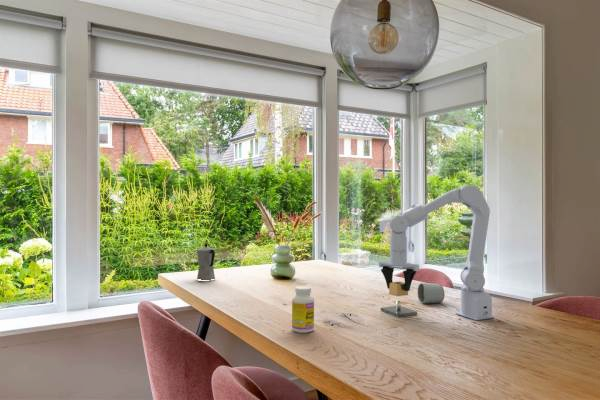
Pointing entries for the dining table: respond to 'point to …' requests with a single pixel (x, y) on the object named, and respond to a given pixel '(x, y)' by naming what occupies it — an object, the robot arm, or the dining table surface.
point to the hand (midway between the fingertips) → (398, 289)
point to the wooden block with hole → (397, 289)
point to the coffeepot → (206, 263)
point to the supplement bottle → (303, 310)
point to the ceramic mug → (430, 293)
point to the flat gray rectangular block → (398, 310)
